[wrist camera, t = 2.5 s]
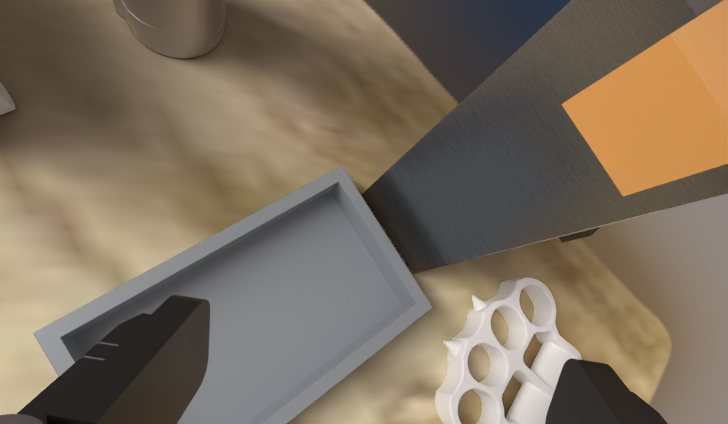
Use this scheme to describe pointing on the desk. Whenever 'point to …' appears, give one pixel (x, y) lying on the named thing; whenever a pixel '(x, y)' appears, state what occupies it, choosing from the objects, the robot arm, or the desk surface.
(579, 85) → the cabinet
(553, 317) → the white brass knuckles
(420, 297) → the tray
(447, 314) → the desk surface
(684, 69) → the orange block
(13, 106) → the grey angular piece
